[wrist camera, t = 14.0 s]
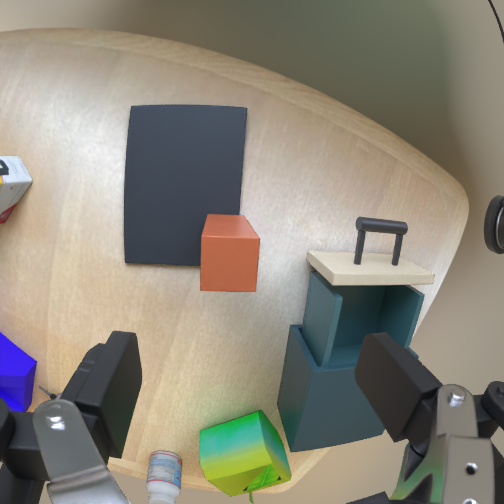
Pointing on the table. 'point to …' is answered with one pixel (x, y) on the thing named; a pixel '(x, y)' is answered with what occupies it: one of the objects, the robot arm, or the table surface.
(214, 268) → the block
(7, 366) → the bracket
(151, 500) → the pill bottle
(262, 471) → the cubic fruit with leaf
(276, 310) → the table surface
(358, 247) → the drawer
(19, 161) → the ink box
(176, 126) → the mat
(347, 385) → the cabinet
